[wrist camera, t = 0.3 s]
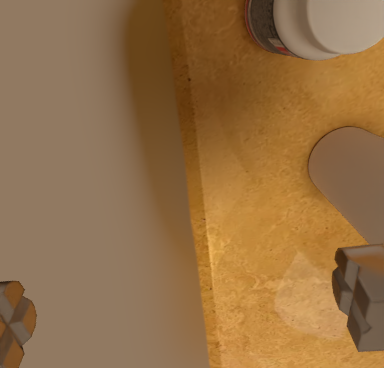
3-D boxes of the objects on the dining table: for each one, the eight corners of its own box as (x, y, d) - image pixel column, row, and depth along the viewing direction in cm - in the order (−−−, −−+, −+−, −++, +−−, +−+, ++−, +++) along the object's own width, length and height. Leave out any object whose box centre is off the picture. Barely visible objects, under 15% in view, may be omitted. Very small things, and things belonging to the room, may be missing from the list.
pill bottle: (295, 64, 26) (370, 85, 17) (230, 34, 25) (273, 39, 16) (335, -15, 24) (442, -39, 15) (265, -53, 23) (338, -104, 14)
